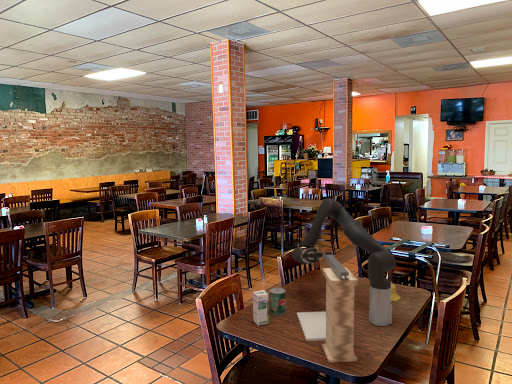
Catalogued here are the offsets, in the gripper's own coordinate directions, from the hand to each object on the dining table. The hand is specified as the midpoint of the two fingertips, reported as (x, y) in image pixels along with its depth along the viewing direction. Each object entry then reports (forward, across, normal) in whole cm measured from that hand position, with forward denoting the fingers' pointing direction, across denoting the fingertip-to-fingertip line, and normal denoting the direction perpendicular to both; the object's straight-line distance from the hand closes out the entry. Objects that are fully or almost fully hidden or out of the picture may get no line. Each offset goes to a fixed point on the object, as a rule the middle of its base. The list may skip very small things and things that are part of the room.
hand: (321, 254), depth 176 cm
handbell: (-24, +45, +25) cm, 57 cm away
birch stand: (+20, -4, +38) cm, 43 cm away
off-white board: (-2, -3, +32) cm, 32 cm away
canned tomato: (-20, -18, +27) cm, 38 cm away
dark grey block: (+25, -3, +6) cm, 26 cm away
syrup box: (-11, -29, +29) cm, 43 cm away
